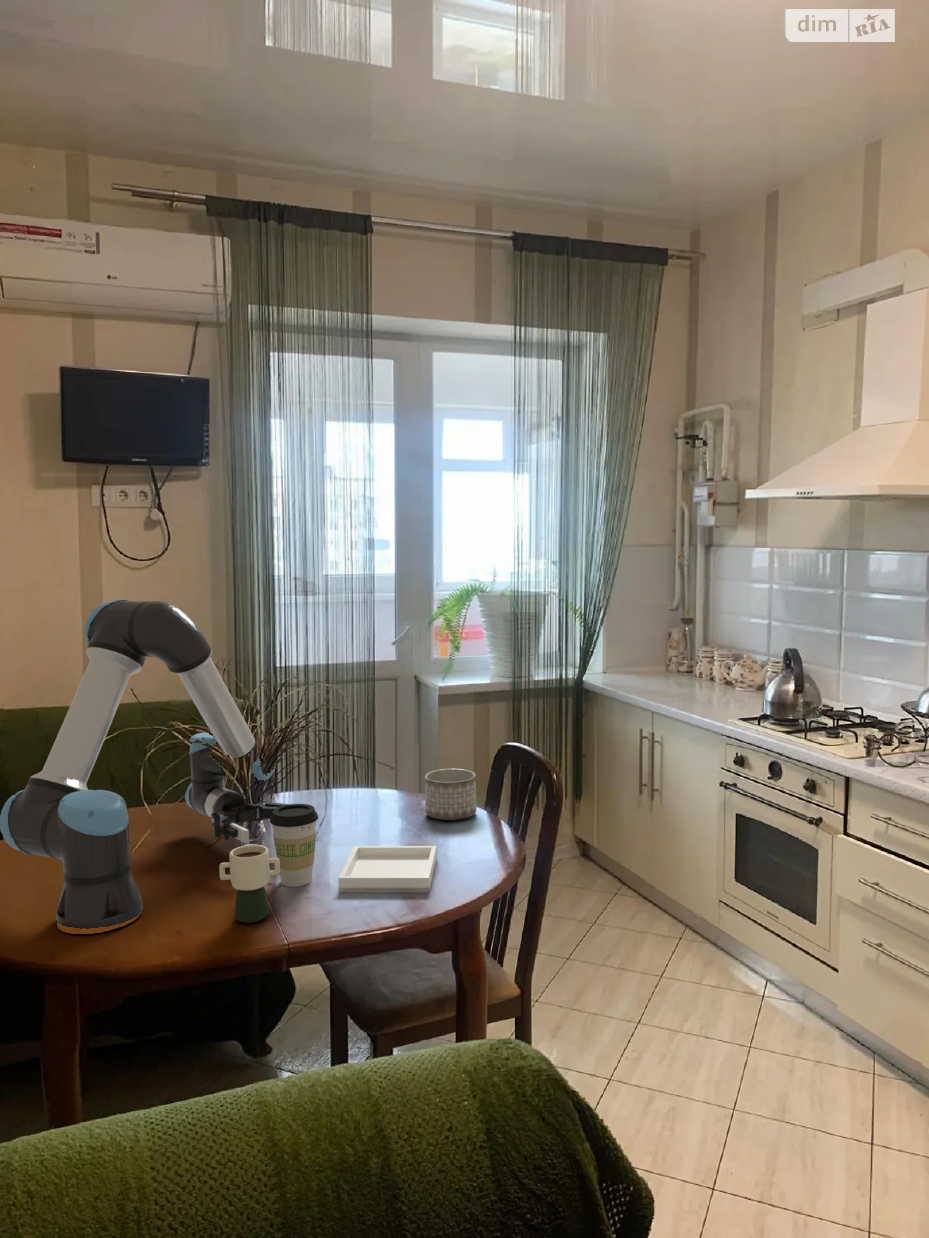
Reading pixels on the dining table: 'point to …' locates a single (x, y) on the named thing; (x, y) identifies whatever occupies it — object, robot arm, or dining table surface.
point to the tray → (389, 869)
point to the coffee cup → (295, 842)
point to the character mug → (250, 880)
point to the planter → (450, 794)
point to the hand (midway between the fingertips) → (276, 828)
